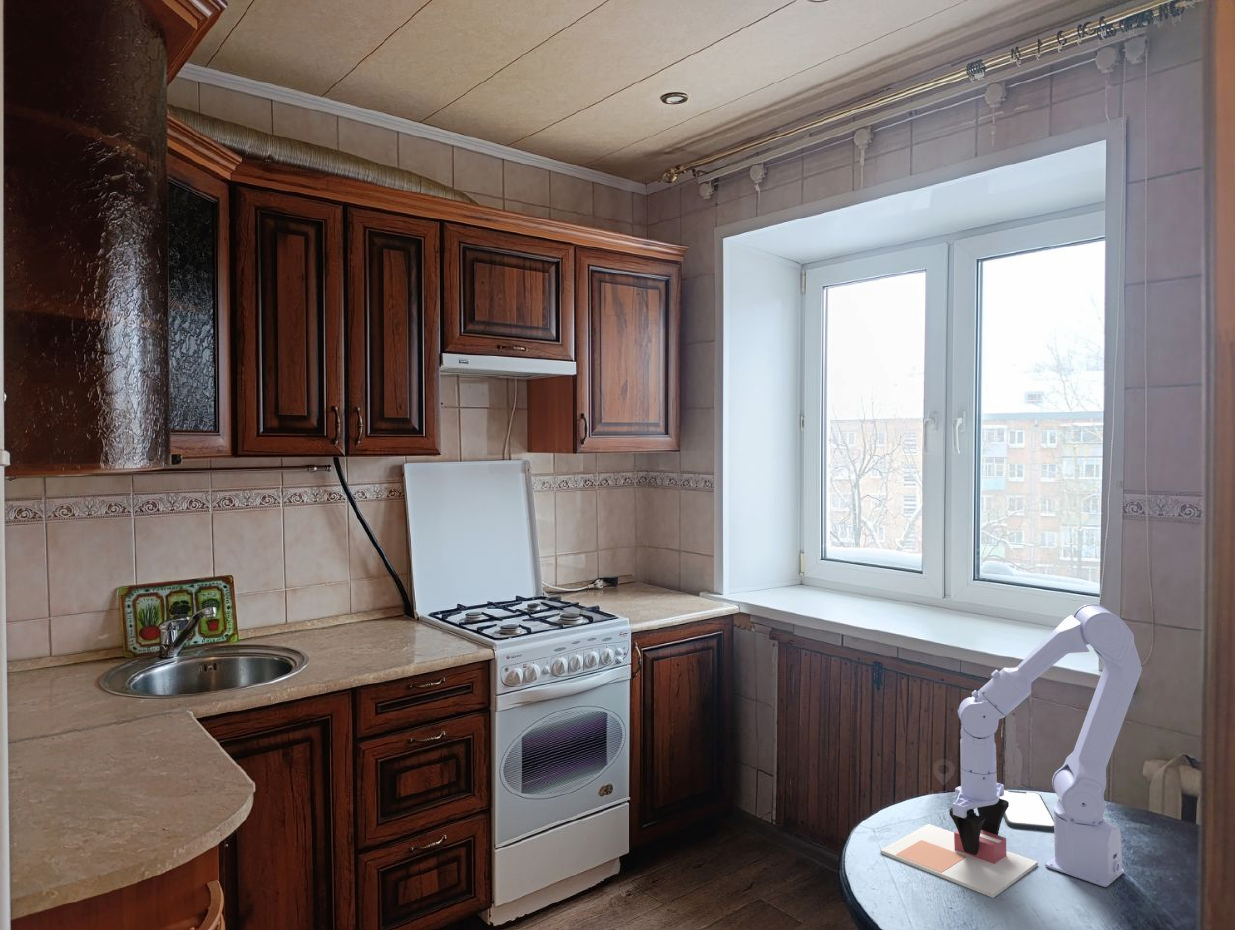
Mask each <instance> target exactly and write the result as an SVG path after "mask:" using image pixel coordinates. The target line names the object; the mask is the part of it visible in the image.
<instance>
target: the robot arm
mask: <svg viewBox="0 0 1235 930" xmlns="http://www.w3.org/2000/svg"><path fill="white" fill-rule="evenodd" d="M1087 645H1090V646H1091V647H1092V648H1093V651H1094V652H1095V654H1096V655H1097V657H1098V659H1099V660H1100V661H1101V663H1102V665H1103V669H1102V672H1101V675H1100V677H1099V680H1098V683H1097V686H1096V688H1095V691H1094V692H1093V693H1094V694H1093V696H1092V699H1091V701H1090V704H1089V707H1088V710H1087V713H1086V716H1085V718H1084V721H1083V724H1082V727H1081V729H1080V732H1079V735H1078V738H1077V740H1076V743H1075V746H1074V748H1073V751H1072V752H1070V754H1069V755H1067V756H1066V758H1065V760H1064V763H1063V764H1062V766H1061V767H1060V768H1058V769H1057V770H1056V771H1055V772H1054V774H1053V776H1052V778H1051V785H1052V790H1053V791H1054V793H1055V794H1056V796H1057V797H1058V800H1057V802H1056V804H1055V805H1054V806H1053V819H1054V832H1053V833H1054V836H1053V837H1054V838H1053V839H1054V841H1053V842H1054V856H1053V857H1052V858H1051V859H1049V860H1048V861H1046V862H1045V864H1044V866H1045V867H1046V868H1048V869H1051V870H1054V871H1057V872H1060V873H1062V874H1065V875H1069V876H1072V877H1075V878H1078V879H1081V880H1083V881H1086V882H1088V883H1092V884H1095V885H1097V886H1100V887H1102V888H1107V887H1109V886H1110V885H1111V884H1112V883H1113V882H1114V881H1116V879H1118V878H1119V877H1120V876H1122V874H1124V872H1125V870H1124V868H1123V853H1122V852H1123V851H1122V850H1123V849H1122V834H1121V829H1120V827H1119V826H1117V825H1115V824H1112V823H1110V822H1108V821H1107V820H1106V819H1104V813H1105V810H1106V803H1105V798H1104V794H1105V790H1106V788H1107V767H1108V764H1109V761H1110V758H1111V756H1112V752H1113V750H1114V749H1115V746H1116V742H1117V740H1118V737H1119V734H1120V731H1121V729H1122V726H1123V724H1124V721H1125V717H1126V715H1127V713H1128V710H1129V707H1130V705H1131V701H1132V699H1133V696H1134V694H1135V690H1136V688H1137V685H1138V684H1139V683H1138V682H1139V679H1140V678H1141V675H1142V669H1143V668H1142V667H1143V666H1142V664H1141V663H1142V662H1141V660H1140V656H1139V653H1138V650H1137V646H1136V643H1135V635H1134V633H1133V631H1132V630H1131V629H1130V628H1129V626H1128V625H1127V624H1126V623H1125V621H1124V620H1123V619H1122V618H1121V617H1119V615H1116V614H1114V613H1112V612H1111V611H1109V609H1107V608H1106V607H1104V606H1103V605H1101V604H1100V605H1099V604H1097V603H1088V604H1084V605H1082V606H1080V607H1079V608H1077V609H1076V611H1075V612H1074V613H1073V615H1072V614H1070V615H1069V616H1067V617H1066V618H1064V619H1063V620H1062V621H1061V622H1060V623H1059V625H1057V627H1055V629H1053V631H1051V632H1050V633H1049V634H1048V635H1047V636H1046V637H1045V639H1043V640H1042V641H1041V642H1040V643H1039V644H1038V645H1037V647H1035V648H1034V649H1033V650H1032V651H1031V652H1030V653H1029V654H1028V655H1027V656H1026V657H1025V658H1024V659H1023V660H1022V661H1021V662H1020V663H1019V664H1018V665H1017V666H1016V667H1003V668H1002V669H1001V670H1000V671H999V669H995V670H994V671H993V672H992V673H990V674H991V677H992V678H991V679H990V680H989V681H988V682H986V683H985V684H984V685H983V686H982V687H980V689H978V690H977V689H974V690H973V691H972V692H971V697H970V696H969V697H966V698H964V699H963V700H962V701H961V703H960V704H959V707H958V709H957V715H958V718H959V720H960V724H961V727H960V728H961V729H960V737H961V738H960V740H959V743H960V749H959V750H960V751H959V752H960V786H957V787H955V789H954V791H955V793H956V794H958V795H957V798H956V800H955V802H953V803H952V807H950V808H949V816H950V818H951V819H952V821H953V823H954V824H955V827H956V829H957V830H958V832H959V835H960V839H961V842H962V846H963V849H964V852H967V853H969V854H972V855H977V853H978V849H979V839H980V832H981V830H983V831H986V832H989V833H992V834H995V835H998V836H999V832H1000V827H1001V824H1002V821H1003V819H1004V817H1003V816H1004V813H1005V812H1006V810H1007V808H1008V807H1009V802H1008V801H1006V800H1003V799H1000V797H1002V796H1004V790H1005V784H1003V783H1000V782H998V781H997V779H998V778H997V775H998V774H997V744H996V742H995V734H996V732H997V731H998V727H999V721H1000V720H1001V719H1003V718H1005V717H1006V716H1008V715H1009V714H1010V713H1011V712H1012V711H1013V710H1014V709H1016V708H1017V707H1018V706H1019V705H1020V704H1021V703H1023V702H1024V700H1026V699H1027V697H1029V696H1030V695H1031V694H1032V683H1033V682H1034V681H1035V680H1036V679H1037V678H1039V677H1040V676H1041V675H1042V674H1044V673H1045V672H1046V671H1048V670H1049V669H1051V668H1052V667H1053V666H1054V665H1056V663H1058V662H1059V661H1061V659H1062V658H1064V657H1065V656H1066V655H1068V654H1075V653H1089V652H1090V650H1089V648H1088V646H1087ZM975 809H976V810H977V812H978V815H977V813H976V812H975Z"/></svg>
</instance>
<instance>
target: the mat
mask: <svg viewBox="0 0 1235 930" xmlns="http://www.w3.org/2000/svg"><path fill="white" fill-rule="evenodd" d="M880 854H881V855H884V856H887V857H889V858H892V859H893V860H897V861H899V862H901V863H903V864H906V865H909V866H912V867H914V868H916V869H919V870H921V871H924V872H927V873H929V874H932V875H935V876H937V877H939V878H942V879H944V880H947V881H949V882H952V883H954V884H957V885H959V886H962V887H964V888H967V889H970V890H973V891H975V892H978V893H979V894H983V895H984V896H988V897H989V898H992V899H994V898H995V897H997V896H999V894H1001V893H1003V892H1004V891H1005V890H1006V889H1008V888H1009V887H1011V886H1012V885H1013V884H1015V883H1017V881H1019V880H1020V879H1021V878H1023V877H1024V876H1025V875H1027V874H1028V873H1029V872H1031V871H1032V870H1034V869H1035V868H1037V867H1038V866H1039V862H1038V861H1037V860H1034V859H1031V858H1029V857H1026V856H1023V855H1020V854H1018V853H1015V852H1011V851H1009V850H1006V855H1007V856H1005V857H1004V858H1002V859H1001V860H999V861H998V862H996V863H995V864H993V863H990V862H987V861H985V860H982V859H979V858H976V857H974V856H971V855H968V854H965V853H963V852H960V851H957V850H955V847H954V832H953V831H950V830H947V829H945V828H942V827H939V826H936V825H933V824H930V823H927V824H925V825H923V826H921V827H920V828H918V829H916V830H914V831H912V832H910V833H909V834H906V835H905V836H903V837H901V838H900V839H898V840H896V841H894V842H892V843H890V844H889V845H887V846H884V847H883V848H881V849H880Z"/></svg>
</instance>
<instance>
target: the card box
mask: <svg viewBox="0 0 1235 930" xmlns="http://www.w3.org/2000/svg"><path fill="white" fill-rule="evenodd" d="M954 847H955V850H957V851H960V852H963V853H965V854H968V855H971V856H974V857H976V858H979V859H982V860H985V861H987V862H990V863H993V864H995V863H996V862H998V861H999V860H1001V859H1002V858H1004V857H1005V856H1007V855H1006V851H1007V837H1004V836H1001V835H999V834H998V835H995V834H992V833H989V832H986V831H983V830H981V832H980V839H979V849H978V853H977V855H972V854H969V853H967V852H964V849H963V846H962V842H961V839H960V835H959V832H958V829H957V830H956V831H955V832H954Z"/></svg>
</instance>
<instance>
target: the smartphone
mask: <svg viewBox="0 0 1235 930" xmlns="http://www.w3.org/2000/svg"><path fill="white" fill-rule="evenodd" d="M1000 799H1003V800H1006V801H1008V802H1009V807H1008V808H1007V810H1006V812H1005V813H1004V816H1003V820H1004V822H1005V824H1006V826H1007V827H1009V828H1012V829H1016V830H1017V829H1020V830H1029V831H1038V832H1039V831H1041V832H1048V833H1049V832H1051V833H1054V816H1053V815H1052V814H1051V812H1050V810H1049V808H1048V807H1047V804H1046V803H1045V801H1044V798H1043V797H1042V795H1041V794H1039V793H1036V792H1031V791H1018V790H1006V789H1004V796H1002V797H1000Z"/></svg>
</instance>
